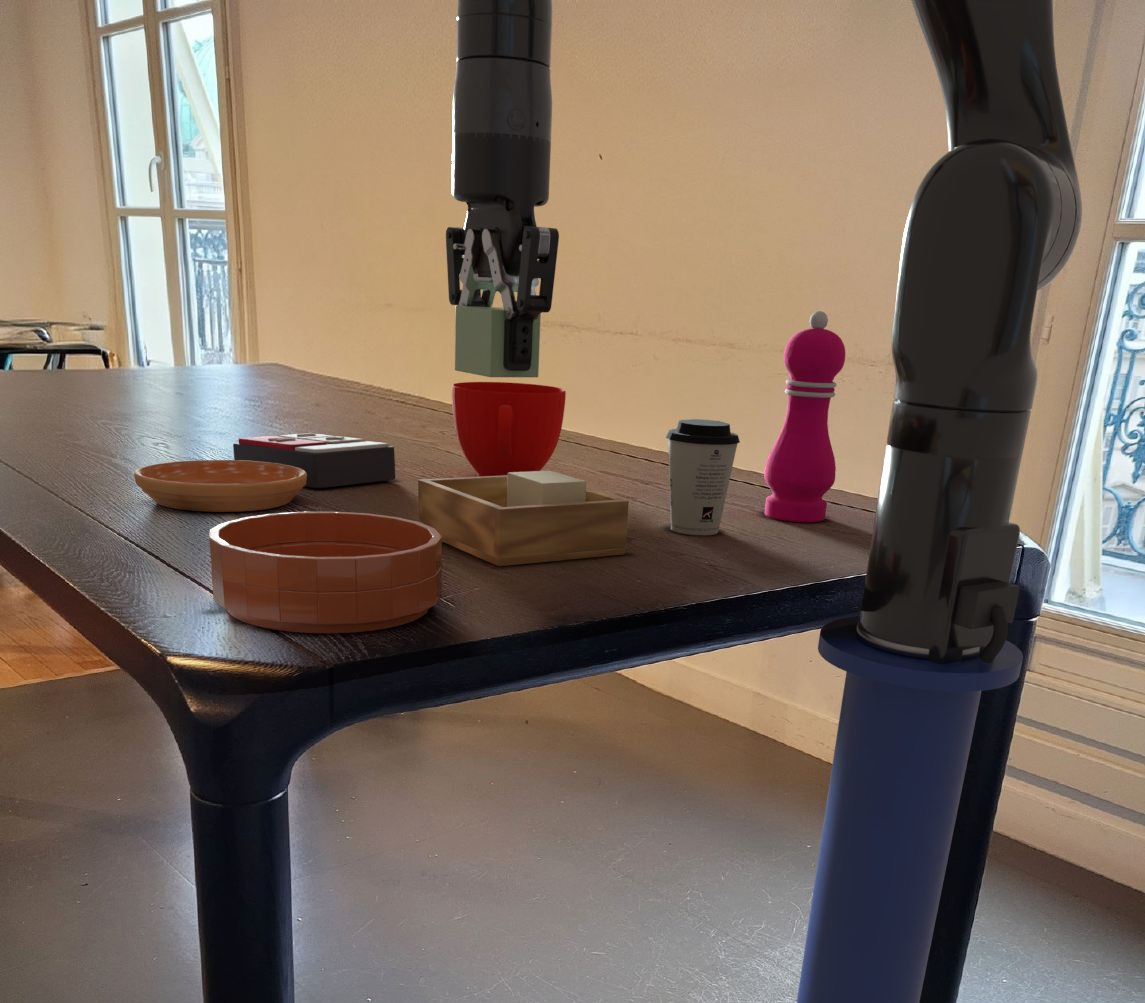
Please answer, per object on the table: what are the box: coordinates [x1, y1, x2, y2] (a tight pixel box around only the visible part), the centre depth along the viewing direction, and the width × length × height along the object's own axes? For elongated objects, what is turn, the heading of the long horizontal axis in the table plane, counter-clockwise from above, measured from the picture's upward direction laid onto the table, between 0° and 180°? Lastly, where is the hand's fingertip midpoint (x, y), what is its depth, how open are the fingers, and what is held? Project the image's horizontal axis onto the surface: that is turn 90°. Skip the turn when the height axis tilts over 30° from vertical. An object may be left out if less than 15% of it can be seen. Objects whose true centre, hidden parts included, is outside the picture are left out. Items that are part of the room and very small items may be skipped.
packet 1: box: [454, 305, 542, 378], centre depth 93 cm, size 6×4×5 cm
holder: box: [417, 475, 629, 567], centre depth 100 cm, size 15×13×5 cm
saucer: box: [133, 459, 307, 513], centre depth 111 cm, size 16×16×3 cm
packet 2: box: [507, 470, 587, 507], centre depth 101 cm, size 6×4×5 cm
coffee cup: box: [665, 418, 741, 536], centre depth 108 cm, size 7×7×10 cm
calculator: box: [232, 432, 396, 489], centre depth 127 cm, size 11×4×15 cm
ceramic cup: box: [451, 381, 567, 477], centre depth 130 cm, size 13×17×10 cm
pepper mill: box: [763, 310, 846, 523], centre depth 116 cm, size 7×7×20 cm
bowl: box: [208, 511, 443, 635], centre depth 78 cm, size 15×15×5 cm
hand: (496, 365), depth 94 cm, fingers closed on packet 1, 6 cm apart
